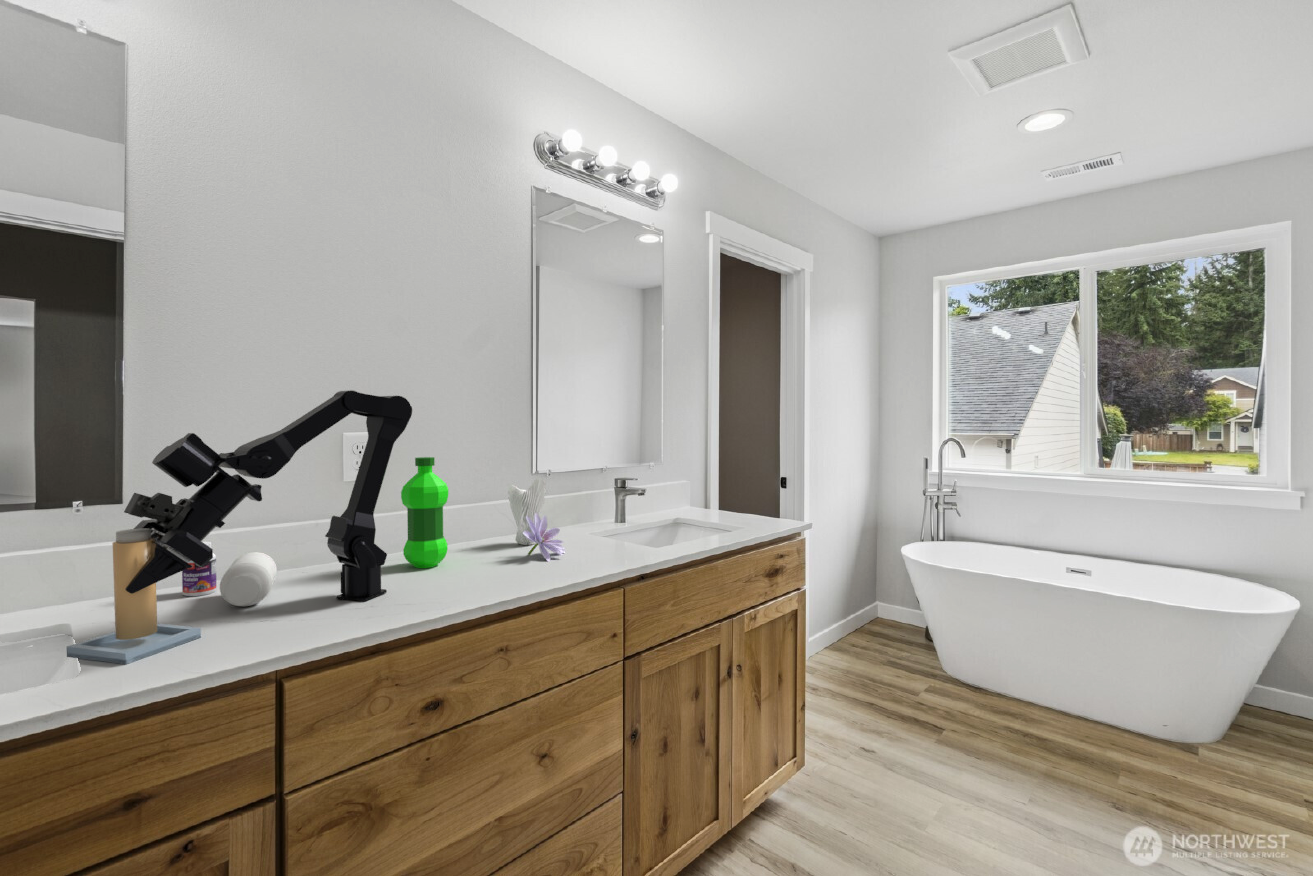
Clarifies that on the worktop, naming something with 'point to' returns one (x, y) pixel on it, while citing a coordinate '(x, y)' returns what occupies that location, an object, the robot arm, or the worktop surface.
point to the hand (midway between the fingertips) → (123, 588)
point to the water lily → (543, 537)
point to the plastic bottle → (425, 515)
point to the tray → (133, 645)
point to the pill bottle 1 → (200, 578)
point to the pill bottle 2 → (248, 579)
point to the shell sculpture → (526, 506)
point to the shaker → (130, 609)
